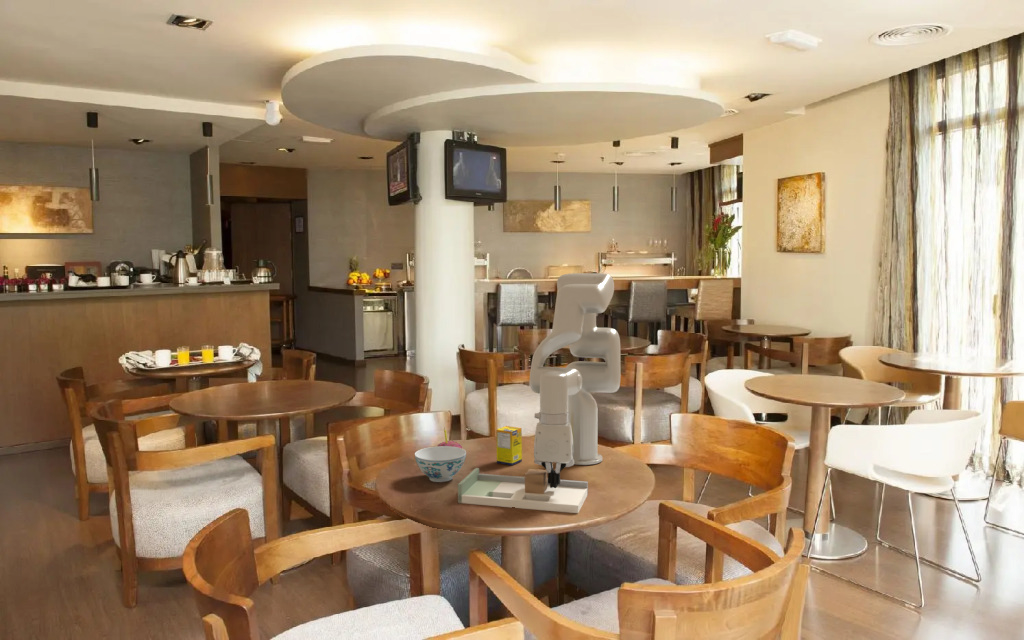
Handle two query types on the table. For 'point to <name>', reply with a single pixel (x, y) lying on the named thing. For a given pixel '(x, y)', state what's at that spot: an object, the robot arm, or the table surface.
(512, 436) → the supplement box
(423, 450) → the chinaware
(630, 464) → the table surface
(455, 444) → the cupcake
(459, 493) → the trap board
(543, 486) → the walnut block
